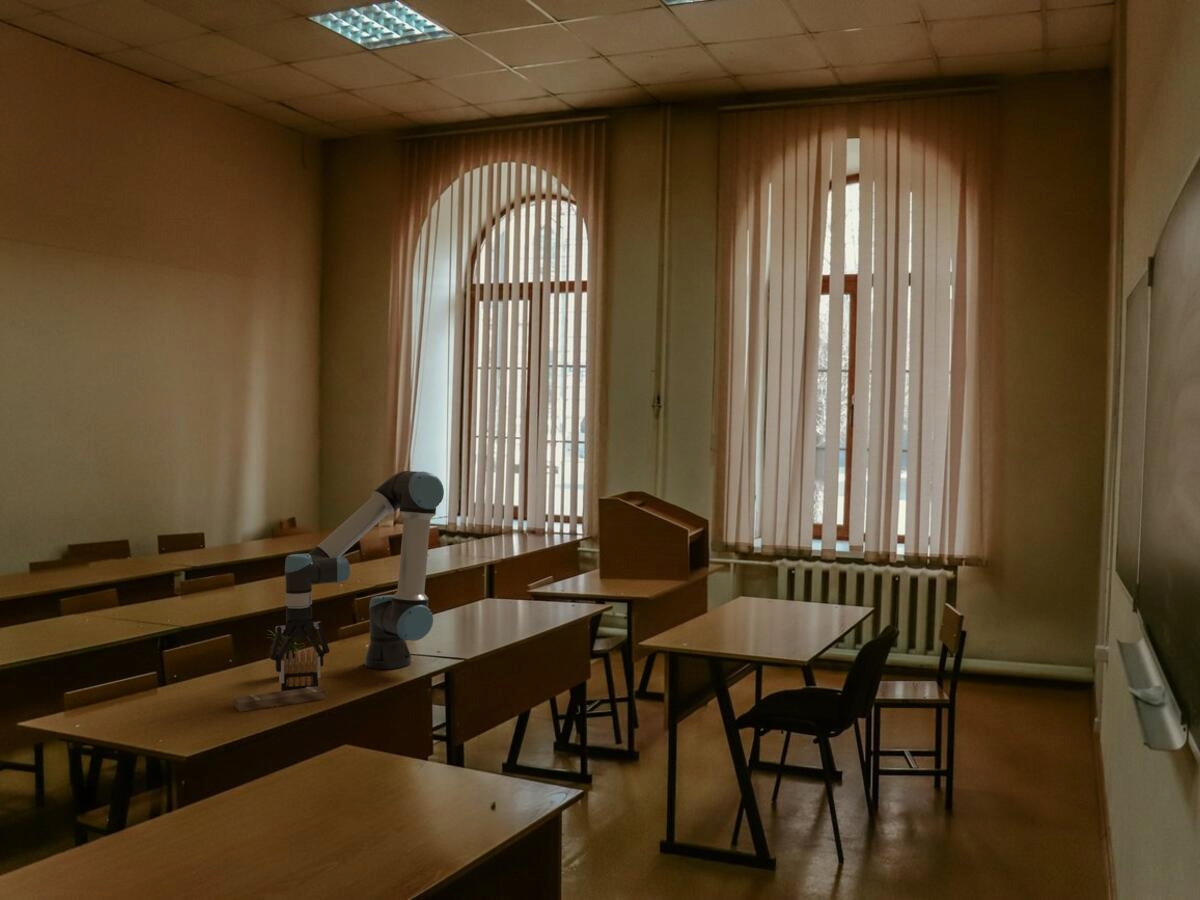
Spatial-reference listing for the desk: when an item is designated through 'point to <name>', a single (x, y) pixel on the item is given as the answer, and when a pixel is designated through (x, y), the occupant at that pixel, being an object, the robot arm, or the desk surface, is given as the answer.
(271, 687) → the desk surface
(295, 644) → the house plant
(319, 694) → the plank
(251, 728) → the desk surface
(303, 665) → the ammunition clip
